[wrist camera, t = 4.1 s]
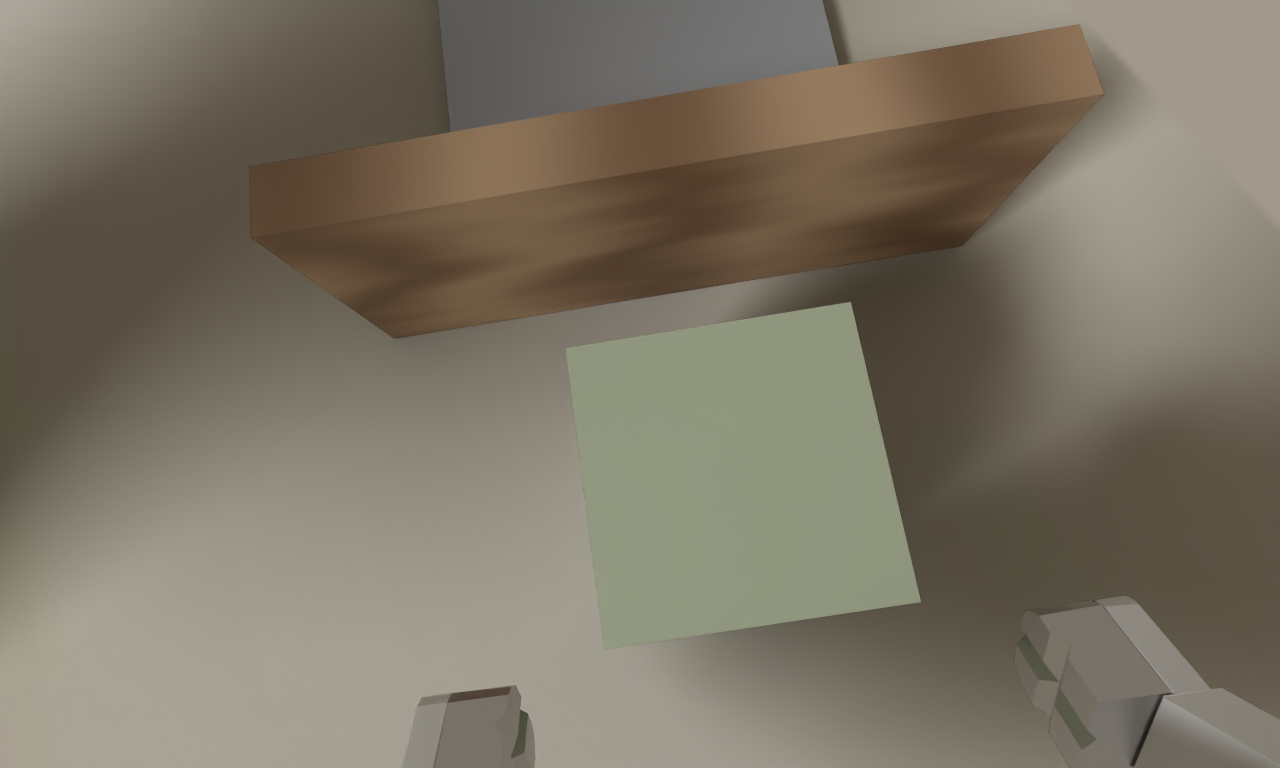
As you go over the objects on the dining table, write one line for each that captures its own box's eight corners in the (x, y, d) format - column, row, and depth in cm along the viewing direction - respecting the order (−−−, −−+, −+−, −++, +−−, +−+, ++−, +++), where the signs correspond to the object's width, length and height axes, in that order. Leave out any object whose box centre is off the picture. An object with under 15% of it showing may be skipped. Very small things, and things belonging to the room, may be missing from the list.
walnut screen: (394, 338, 21) (250, 237, 14) (390, 288, 21) (249, 166, 14) (961, 245, 20) (1104, 93, 13) (948, 196, 20) (1079, 24, 14)
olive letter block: (642, 599, 18) (604, 649, 10) (617, 428, 20) (563, 336, 11) (808, 573, 18) (920, 601, 10) (774, 403, 19) (847, 290, 11)
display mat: (463, 195, 22) (455, 182, 21) (439, -40, 24) (431, -60, 23) (845, 131, 21) (851, 115, 20) (787, -103, 23) (791, -125, 22)
